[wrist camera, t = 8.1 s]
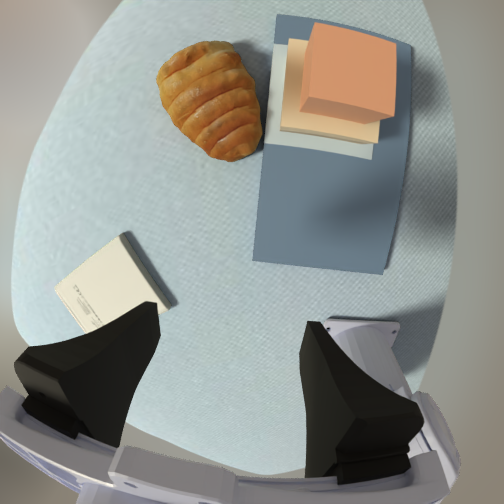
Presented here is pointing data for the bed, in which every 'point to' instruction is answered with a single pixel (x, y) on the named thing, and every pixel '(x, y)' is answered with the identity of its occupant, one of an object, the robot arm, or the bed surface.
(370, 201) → the board
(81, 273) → the external hard drive
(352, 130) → the base block
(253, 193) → the bed surface
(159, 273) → the bed surface
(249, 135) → the pastry
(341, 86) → the top block
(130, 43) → the bed surface
